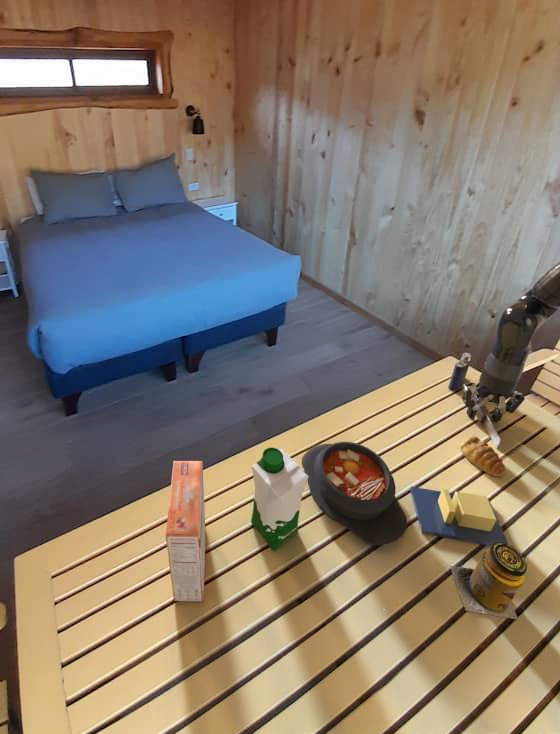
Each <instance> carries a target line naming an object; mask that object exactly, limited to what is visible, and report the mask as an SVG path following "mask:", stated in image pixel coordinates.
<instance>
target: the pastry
mask: <svg viewBox="0 0 560 734" xmlns="http://www.w3.org/2000/svg"><path fill="white" fill-rule="evenodd" d="M459 448H460V451H461V453H462V455H463V456H464V457H465V458H466V459H467V460H468V461H469V462H470V463H472V464H473V465H475V467H477V468H479V469H480V470H481V471H483V472H484V473H486V474H489V475H490V476H491V475H492V476H493V477H500V476H502V475H503V474H504V473H506V467H505V464H504V462H503V460H502V459H501V458H500V457H499V454H498V453H497V452H495V450H494V448H493V447H492V446H489V444H488V443H487V442H486V440H481V439H480V438H479V437H478V436H475V435H474V436H470V437H468V438H467V439H465V440H464V441H463V442H461V444H460V445H459Z"/></svg>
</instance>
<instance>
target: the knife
mask: <svg viewBox="0 0 560 734" xmlns="http://www.w3.org/2000/svg"><path fill="white" fill-rule="evenodd" d="M491 416H492V414H491V413H490V411H489V409H488V407H487V406H486V404H485V405H484V406H480V407H479V408H478V409H477V413H476V416H475V417H476V419H477V420H478V422H479V424H481V425H483V426H484V428H485V430H486V431H488V432H487V434H488V436H489V437H490V440H491V441H492V443H493V445H494V447H495V449H496V448H497V449H498V448H500V447H499V446H500V445H501V442H502V439H501V437H500V435H499V433H498V432H497V430H496V428H495V426H494V425H493V424H494V423H493V421H492V419H491ZM497 449H496V450H497Z"/></svg>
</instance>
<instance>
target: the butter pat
mask: <svg viewBox="0 0 560 734" xmlns="http://www.w3.org/2000/svg"><path fill="white" fill-rule="evenodd" d="M440 492H441V494H440V496H439V499H438V503H439V506H440V509H441V512H442V515H443V519H444V522H445V523H448V524H451V523H452V520H453V518H454V516H455V514H456V511H455V508H454V505H453V503H452V500H451V497H450V494H449V493H450V491H449V490H448V489H444V488H442V489H441V491H440Z"/></svg>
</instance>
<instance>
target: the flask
mask: <svg viewBox="0 0 560 734" xmlns="http://www.w3.org/2000/svg"><path fill="white" fill-rule="evenodd" d="M472 358H473V356H472V354H471V353H470V352H469V353H468V352H463V353H462V354H461V358H460V359H459V360H458V361H457V362H455V364H454V368H453V371H452V374H451V376H450V377H451V378H450V380H449V383H448V386H447V388H448V390H449V391H451V392H457V391H459V390H460V389H461V388H462V387H463V385H464V383H465V380H466V376H467V373H468V371H469V367H470V365H471V362H472Z"/></svg>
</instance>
